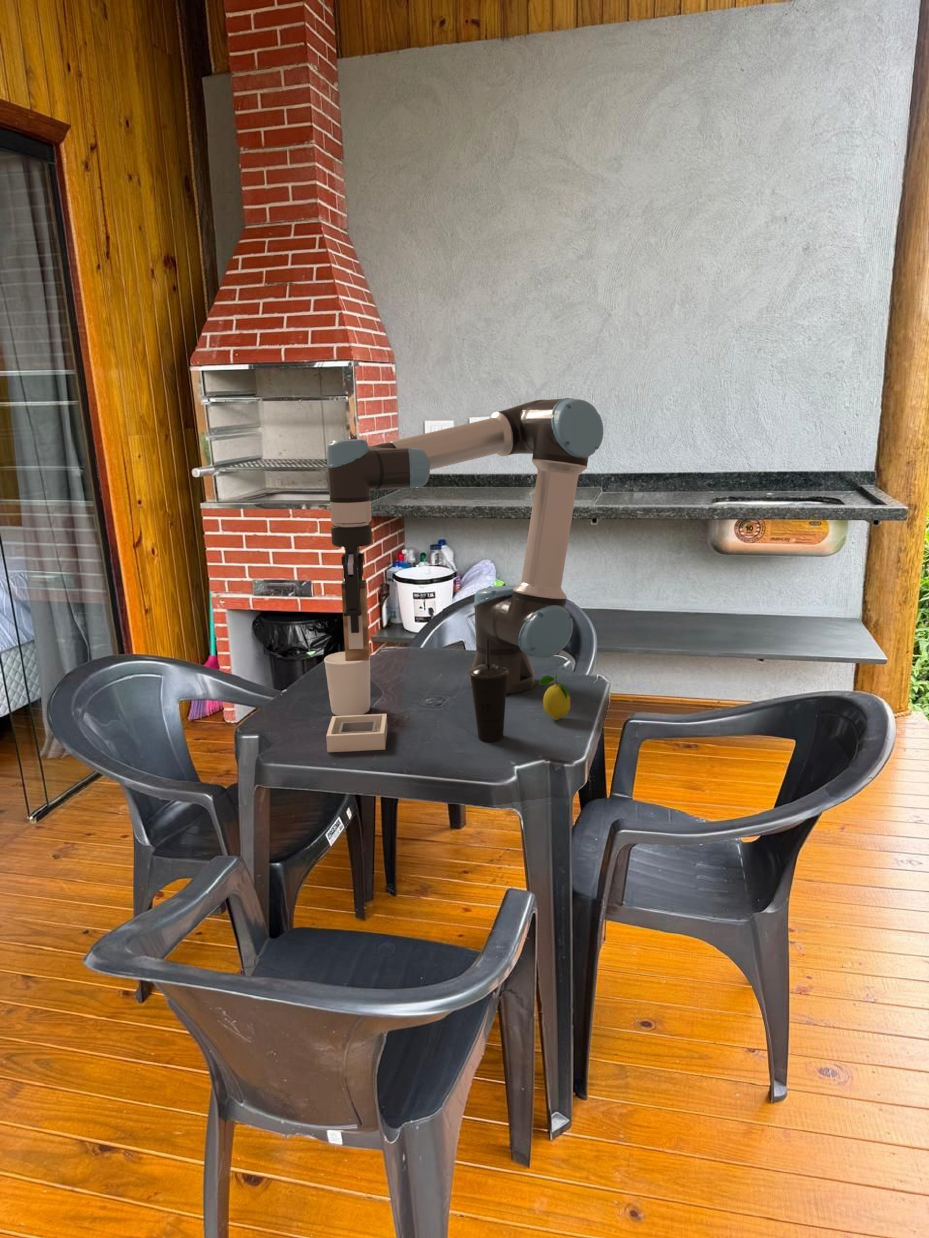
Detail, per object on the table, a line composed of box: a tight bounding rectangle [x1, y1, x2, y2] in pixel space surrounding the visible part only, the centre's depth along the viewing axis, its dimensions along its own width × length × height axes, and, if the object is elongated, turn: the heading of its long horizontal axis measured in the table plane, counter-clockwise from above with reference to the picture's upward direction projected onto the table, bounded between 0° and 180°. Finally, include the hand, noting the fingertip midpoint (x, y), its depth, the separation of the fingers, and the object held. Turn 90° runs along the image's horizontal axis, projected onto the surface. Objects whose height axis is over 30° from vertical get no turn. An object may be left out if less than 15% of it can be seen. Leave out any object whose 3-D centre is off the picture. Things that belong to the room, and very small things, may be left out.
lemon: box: [538, 673, 572, 721], centre depth 180 cm, size 7×6×10 cm
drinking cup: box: [468, 639, 509, 743], centre depth 171 cm, size 8×8×20 cm
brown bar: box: [340, 579, 371, 661], centre depth 169 cm, size 4×4×15 cm
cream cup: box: [323, 651, 371, 716], centre depth 190 cm, size 10×10×12 cm
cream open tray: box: [325, 713, 389, 753], centre depth 174 cm, size 11×11×3 cm
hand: (357, 645), depth 170 cm, fingers closed on brown bar, 3 cm apart
